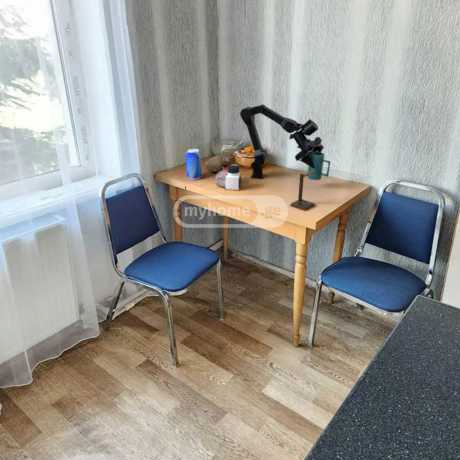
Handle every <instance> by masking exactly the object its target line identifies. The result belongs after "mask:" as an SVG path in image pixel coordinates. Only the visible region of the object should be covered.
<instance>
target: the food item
mask: <svg viewBox="0 0 460 460" xmlns="http://www.w3.org/2000/svg"><path fill="white" fill-rule="evenodd" d="M221 169H222V170H219V171H217V173H216V175H215V185H216V186H218V187H220V188H223V189H226V176H227V175H228V166H225V167H224V166H223V167H222V168H221Z"/></svg>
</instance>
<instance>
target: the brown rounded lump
mask: <svg viewBox="0 0 460 460" xmlns="http://www.w3.org/2000/svg"><path fill="white" fill-rule="evenodd" d="M229 162H230V159H229V158H228V157H226V156H225V155H223V154H219V155H215V156H212V157H210V158H208V159H207V161H205V163H204V166H205V168H206V169H207V170H208V171H209V172H211V173H215V172H217V173H218V172H219V171H221V169H222V167H224V166H228V164H229Z"/></svg>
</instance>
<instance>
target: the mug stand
mask: <svg viewBox="0 0 460 460" xmlns="http://www.w3.org/2000/svg"><path fill="white" fill-rule="evenodd" d="M314 173H315V171H314V170H312V171H311V172H309V173H308V172H306V173H300V174H299V183H298V196H297V200H295V201H293V202H291V203H290V207H293V208H296V209H299V210H301V211H304V212H305V211H306V210H308V209H310V208H313V207H314V206H315V204H316V203H315V202H312V201H309V200H305V199H303V193H304V192H303V190H304V179H305V177H306V178H307V176H308V175H311V174H314Z"/></svg>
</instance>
